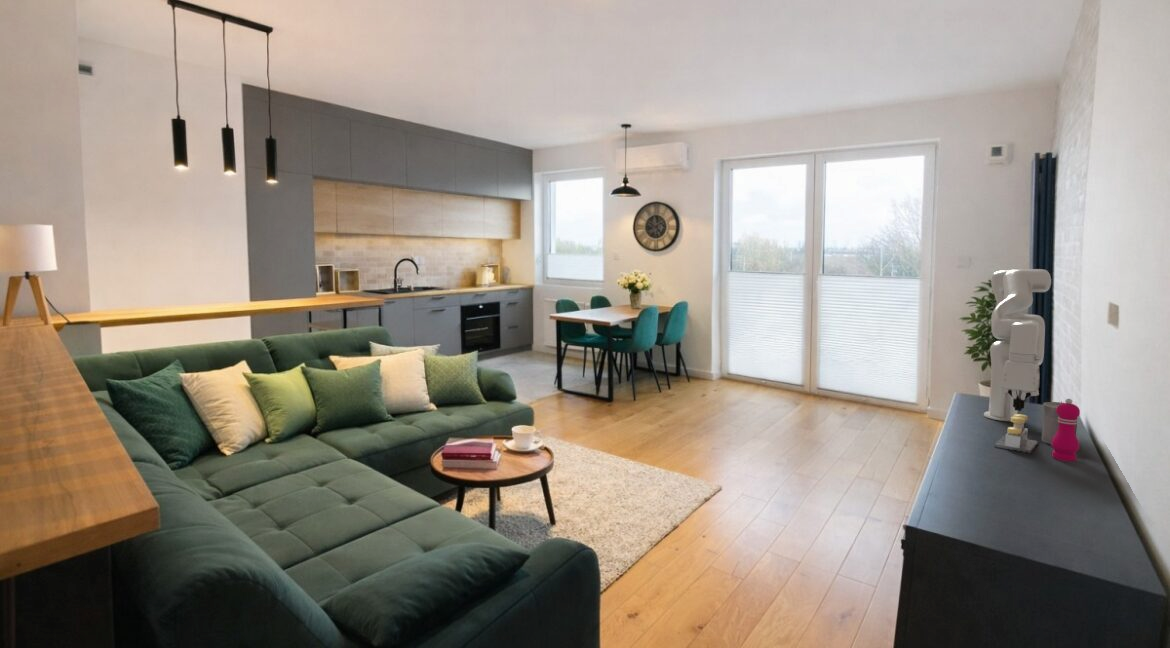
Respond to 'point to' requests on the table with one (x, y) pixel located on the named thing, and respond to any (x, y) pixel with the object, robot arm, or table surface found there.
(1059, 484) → the table surface
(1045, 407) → the pillar candle
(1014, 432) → the knob
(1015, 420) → the knob
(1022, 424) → the knob
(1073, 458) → the pepper mill
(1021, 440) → the mount plate
